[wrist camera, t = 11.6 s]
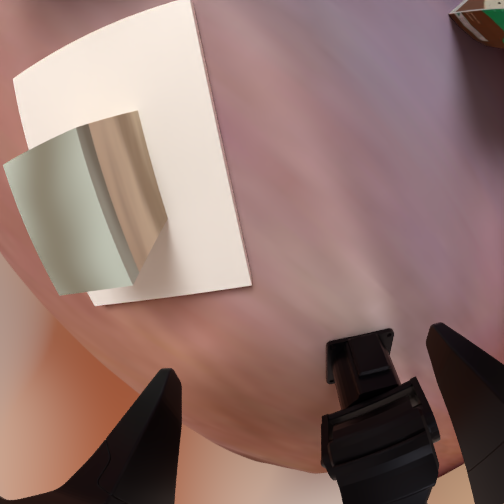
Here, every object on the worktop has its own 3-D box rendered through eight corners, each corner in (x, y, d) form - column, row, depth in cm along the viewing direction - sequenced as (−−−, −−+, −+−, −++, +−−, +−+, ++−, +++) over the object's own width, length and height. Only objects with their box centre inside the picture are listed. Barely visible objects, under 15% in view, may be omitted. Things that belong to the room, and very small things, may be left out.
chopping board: (251, 275, 22) (251, 285, 21) (99, 297, 23) (94, 305, 22) (193, 2, 13) (189, -3, 12) (23, 77, 14) (12, 78, 13)
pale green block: (137, 110, 15) (75, 127, 9) (168, 218, 18) (132, 285, 12) (75, 133, 15) (2, 164, 9) (108, 231, 19) (59, 295, 13)
